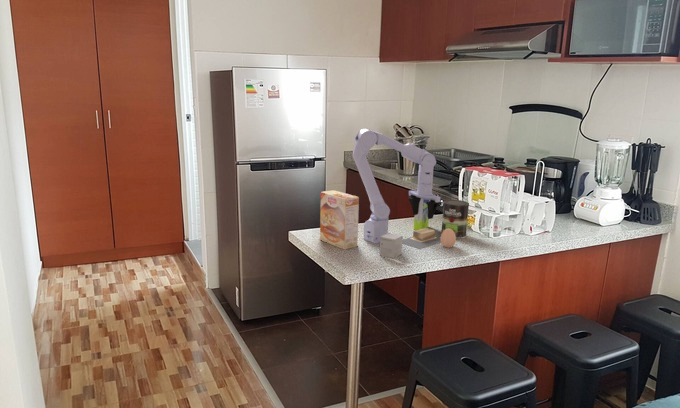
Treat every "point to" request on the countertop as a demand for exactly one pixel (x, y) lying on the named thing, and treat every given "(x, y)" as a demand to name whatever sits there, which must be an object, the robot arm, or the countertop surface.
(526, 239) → the countertop surface
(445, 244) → the egg
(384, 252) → the product box
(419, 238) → the card box
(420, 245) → the mat
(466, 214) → the coffee can
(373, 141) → the robot arm
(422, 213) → the box
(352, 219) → the coffeecake box
